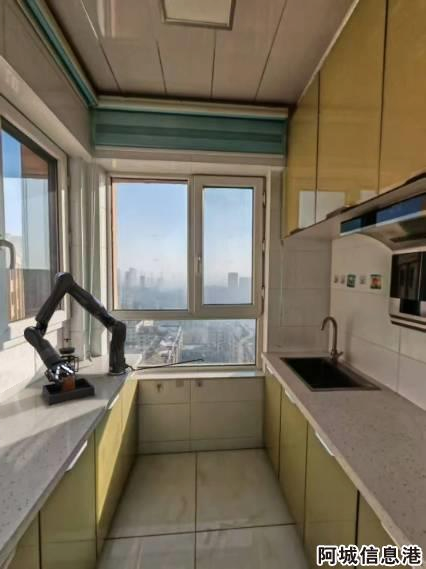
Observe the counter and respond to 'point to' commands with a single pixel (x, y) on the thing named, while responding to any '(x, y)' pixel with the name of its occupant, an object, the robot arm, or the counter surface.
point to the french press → (68, 357)
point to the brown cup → (68, 383)
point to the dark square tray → (56, 396)
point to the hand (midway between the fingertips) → (68, 383)
